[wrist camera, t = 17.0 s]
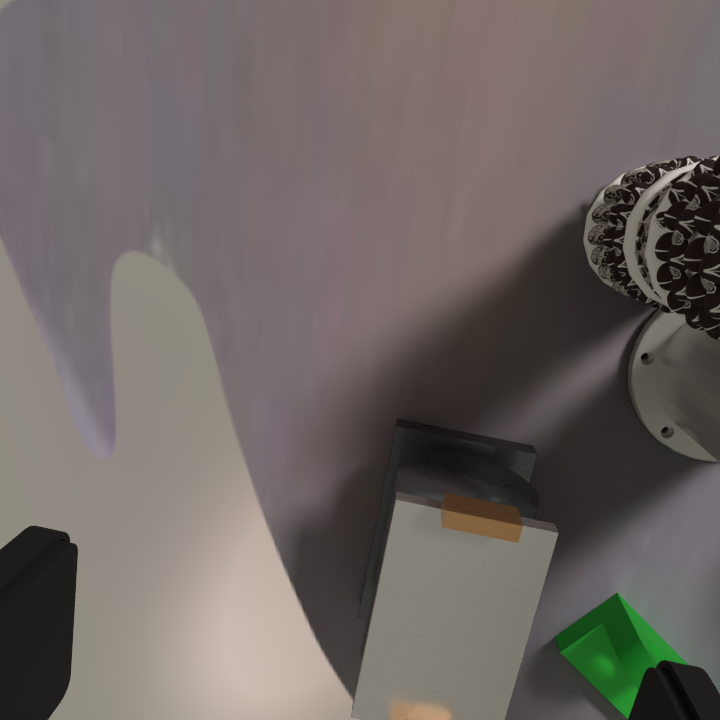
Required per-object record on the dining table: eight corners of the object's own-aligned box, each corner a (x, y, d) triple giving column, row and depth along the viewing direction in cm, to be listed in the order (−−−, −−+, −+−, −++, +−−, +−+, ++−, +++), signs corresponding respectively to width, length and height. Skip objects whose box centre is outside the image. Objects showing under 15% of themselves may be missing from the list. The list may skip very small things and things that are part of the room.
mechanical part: (554, 634, 48) (579, 716, 41) (616, 591, 47) (654, 667, 39) (653, 732, 50) (695, 829, 42) (716, 692, 48) (772, 786, 41)
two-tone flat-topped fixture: (535, 439, 44) (581, 538, 31) (482, 636, 49) (504, 794, 36) (398, 412, 45) (388, 498, 32) (359, 609, 49) (336, 755, 36)
